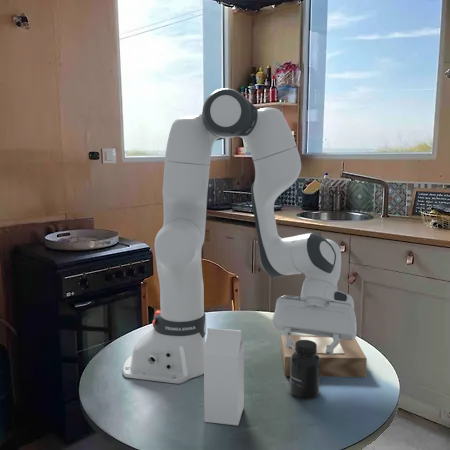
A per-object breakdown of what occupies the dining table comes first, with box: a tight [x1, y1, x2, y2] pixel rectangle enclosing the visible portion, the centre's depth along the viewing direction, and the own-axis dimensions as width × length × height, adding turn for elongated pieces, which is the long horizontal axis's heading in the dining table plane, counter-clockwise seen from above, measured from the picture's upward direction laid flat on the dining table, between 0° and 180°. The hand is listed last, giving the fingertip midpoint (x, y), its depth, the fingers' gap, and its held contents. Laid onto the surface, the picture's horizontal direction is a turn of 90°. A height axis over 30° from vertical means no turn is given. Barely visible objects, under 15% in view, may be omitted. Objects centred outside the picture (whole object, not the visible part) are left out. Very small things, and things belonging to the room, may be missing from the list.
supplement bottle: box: [289, 340, 321, 400], centre depth 105 cm, size 7×7×12 cm
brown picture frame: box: [280, 334, 368, 378], centre depth 120 cm, size 20×14×5 cm
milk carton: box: [203, 327, 245, 426], centre depth 95 cm, size 7×7×19 cm
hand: (308, 350), depth 107 cm, fingers open, 8 cm apart
